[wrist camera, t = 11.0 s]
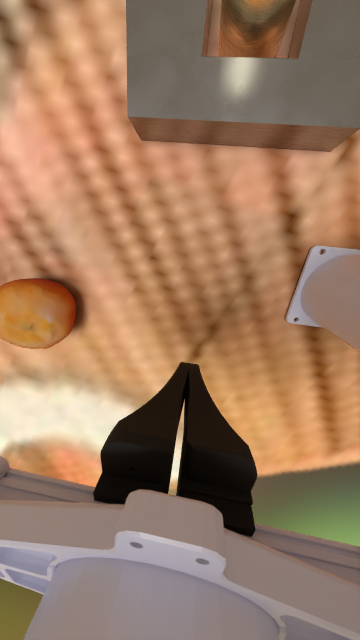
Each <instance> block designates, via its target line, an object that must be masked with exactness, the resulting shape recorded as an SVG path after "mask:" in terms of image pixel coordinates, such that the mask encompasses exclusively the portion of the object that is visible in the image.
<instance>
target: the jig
mask: <svg viewBox="0 0 360 640" xmlns="http://www.w3.org/2000/svg"><path fill="white" fill-rule="evenodd" d="M211 4H212V0H126V24H127V102H128V118H129V120H130V121H131V123H132V125H133V127H134V128H135V130H136V132H137V134H138V135H139V137H140V139H141V140H151V141H167V142H184V143H200V144H217V145H233V146H250V147H266V148H283V149H299V150H316V151H332V150H333V149H334V148H335V147H337V146H338V145H339V144H341V143H342V142H343V141H345V140H346V139H347V138H349V137H350V136H351V135H352V134H354V133H355V132H356V131H358V130H359V129H360V0H301V3H300V7H299V12H298V16H297V21H296V25H295V30H294V34H293V38H292V43H291V47H290V52H289V56H288V58H244V57H206V52H207V42H208V33H209V23H210V13H211Z"/></svg>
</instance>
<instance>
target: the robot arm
mask: <svg viewBox="0 0 360 640" xmlns="http://www.w3.org/2000/svg"><path fill="white" fill-rule="evenodd" d="M321 249H323V253H322V254H320V250H321ZM294 318H297V319H296V320H295V321H294ZM285 319H286V321H287V322H288V323H293V324H301V325H308V326H316V327H323V328H325V329H326V330H328V331H329V332H331V333H332V334H334V335H335V336H337V337H338V338H340V339H341V340H343V341H344V342H346V343H347V344H349V345H350V346H352V347H353V348H355V349H356V350H358V351H360V250H358V249H348V248H338V247H328V246H313V247H312V248H311V249H310V251H309V254H308V256H307V259H306V262H305V265H304V267H303V270H302V273H301V276H300V279H299V281H298V284H297V287H296V290H295V292H294V295H293V298H292V301H291V304H290V306H289V309H288V312H287V315H286V318H285ZM184 399H185V407H184V433H183V442H182V451H181V459H180V468H179V476H178V485H177V493H176V496H174V495H170V494H168V491H169V484H170V477H171V470H172V463H173V456H174V449H175V442H176V435H177V430H178V425H179V421H180V416H181V412H182V408H183V403H184ZM101 464H102V474H101V476H100V479H99V481H98V483H97V485H96V487H92V486H87V485H83V484H78V483H74V482H69V481H65V480H60V479H56V478H52V477H47V476H43V475H38V474H34V473H29V472H25V471H20V470H16V469H12V468H10V465H9V462H8V461H7V460H6V459H5V458H3V457H1V456H0V578H1V579H4V580H7V581H9V582H12V583H15V584H17V585H20V586H23V587H25V588H28V589H31V590H33V591H36V592H39V593H41V594H44V596H43V598H42V600H41V602H40V604H39V607H38V609H37V611H36V613H35V615H34V617H33V620H32V622H31V624H30V626H29V628H28V631H27V633H26V635H25V637H24V639H23V640H360V547H358V546H354V545H349V544H345V543H340V542H336V541H332V540H327V539H322V538H318V537H314V536H309V535H305V534H300V533H296V532H292V531H287V530H283V529H278V528H274V527H269V526H265V525H260V524H256V523H254V518H253V513H252V507H251V505H252V502H253V501H252V496H251V490H252V487H253V486H254V483H255V481H256V479H257V470H256V466H255V462H254V459H253V457H252V454H251V451H250V449H249V446H248V445H247V444H246V443H245V442H244V441H243V440H242V439H241V438H240V436H239V435H238V434H237V433H236V432H235V431H234V430H233V429H232V428H231V426H230V425H229V424H228V422H227V421H226V420H225V418H224V417H223V416H222V414H221V413H220V412H219V410H218V408H217V407H216V405H215V404H214V402H213V400H212V398H211V397H210V395H209V393H208V391H207V388H206V386H205V384H204V381H203V379H202V376H201V373H200V369H199V365H197V364H191V363H185V362H181V363H180V364H179V366H178V368H177V370H176V371H175V373H174V374H173V376H172V377H171V379H170V380H169V381H168V382H167V384H166V385H165V386H164V387H163V388H162V389H161V390H160V391H159V392H158V393H157V394H156V395H155V396H154V397H153V398H152V399H151V400H150V401H148V402H147V403H146V404H145V405H143V406H142V407H140V408H139V409H138V410H136V411H135V412H133V413H132V414H130V415H128V416H127V417H125V418H123V419H122V420H120V421H119V422H118V423H117V424H116V426H115V427H114V429H113V430H112V432H111V433H110V435H109V436H108V438H107V440H106V442H105V444H104V446H103V448H102V450H101Z"/></svg>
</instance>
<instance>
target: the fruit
mask: <svg viewBox="0 0 360 640" xmlns="http://www.w3.org/2000/svg"><path fill="white" fill-rule="evenodd" d="M75 317H76V307H75V301H74V298H73V296H72V295H71V293H70V292H69V291H68V289H67V288H66V287H65V286H63V285H62V284H59V283H56V282H54V281H50V280H46V279H38V278H34V279H20V280H15V281H11V282H8V283H6V284H4V285H2V286H0V338H1V339H2V340H4V341H7V342H9V343H11V344H14V345H16V346H19V347H23V348H30V349H39V348H42V349H46V348H49V347H51V346H53V345H55V344H57V343H59V342H60V341H61V340H63V339H64V338H65V337H66V336H67V335H69V333H70V332H71V330H72V328H73V325H74V322H75Z"/></svg>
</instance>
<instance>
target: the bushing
mask: <svg viewBox="0 0 360 640" xmlns="http://www.w3.org/2000/svg"><path fill="white" fill-rule="evenodd" d="M295 2H296V0H222V6H221V19H220V33H219V55H220V57H244V58H274V57H275V55H276V53H277V50H278V48H279V45H280V42H281V40H282V37H283V34H284V31H285V29H286V26H287V23H288V21H289V18H290V15H291V13H292V10H293V7H294V5H295Z"/></svg>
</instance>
